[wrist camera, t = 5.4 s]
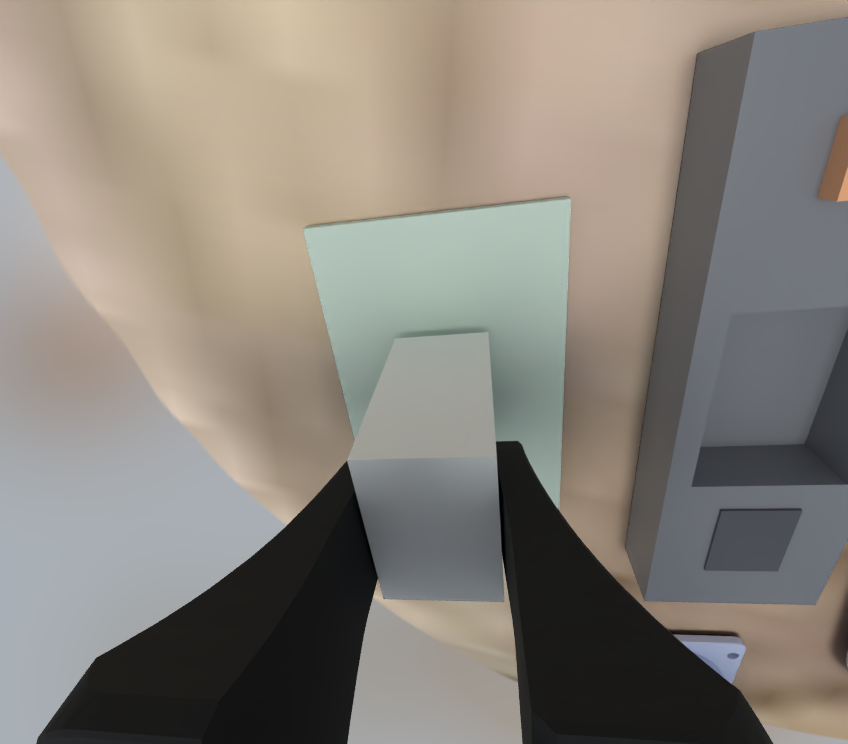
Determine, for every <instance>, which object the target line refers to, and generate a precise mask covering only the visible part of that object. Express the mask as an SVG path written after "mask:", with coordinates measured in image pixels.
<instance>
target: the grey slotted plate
mask: <svg viewBox="0 0 848 744" xmlns="http://www.w3.org/2000/svg"><path fill="white" fill-rule="evenodd" d="M847 541H848V17H845V18H838V19H832V20H826V21H820V22H813V23H807V24H801V25H794V26H788V27H782V28H776V29H769V30H763V31H757V32H753V33H750V34H748V35H745V36H742V37H740V38H737V39H734V40H732V41H729V42H726V43H724V44H721V45H718V46H716V47H713V48H710V49H708V50H705V51H702V52H700V53H698V54H697V61H696V68H695V75H694V82H693V88H692V95H691V102H690V109H689V116H688V123H687V129H686V136H685V143H684V150H683V157H682V164H681V170H680V177H679V184H678V191H677V198H676V204H675V211H674V218H673V225H672V232H671V239H670V245H669V252H668V259H667V266H666V273H665V280H664V286H663V293H662V300H661V307H660V314H659V320H658V327H657V334H656V341H655V348H654V355H653V361H652V368H651V375H650V382H649V389H648V396H647V402H646V409H645V416H644V423H643V430H642V436H641V443H640V450H639V457H638V464H637V471H636V477H635V484H634V491H633V498H632V505H631V512H630V518H629V525H628V532H627V539H626V546H625V549H626V552H627V554H628V557H629V560H630V563H631V565H632V568H633V571H634V574H635V576H636V579H637V582H638V584H639V587H640V590H641V593H642V595H643V598H644V601H663V602H707V603H752V604H796V605H816V603H817V601H818V599H819V597H820V595H821V593H822V591H823V589H824V587H825V585H826V583H827V581H828V579H829V577H830V575H831V573H832V571H833V569H834V567H835V565H836V563H837V561H838V559H839V557H840V555H841V553H842V551H843V549H844V547H845V545H846V543H847Z"/></svg>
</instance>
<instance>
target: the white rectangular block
mask: <svg viewBox="0 0 848 744" xmlns="http://www.w3.org/2000/svg"><path fill="white" fill-rule="evenodd" d="M347 462H348V466H349V469H350V473H351V477H352V481H353V485H354V488H355V492H356V496H357V500H358V504H359V507H360V511H361V515H362V519H363V523H364V526H365V530H366V534H367V538H368V542H369V545H370V549H371V553H372V557H373V560H374V564H375V568H376V572H377V576H378V579H379V583H380V587H381V591H382V595H383V598H384V599H403V600H445V601H487V602H504V585H503V566H502V547H501V528H500V509H499V490H498V471H497V453H496V438H495V423H494V408H493V393H492V379H491V364H490V349H489V334H488V332H481V333H467V334H453V335H438V336H424V337H410V338H395V340H394V343H393V346H392V348H391V351H390V353H389V356H388V358H387V361H386V363H385V366H384V368H383V371H382V373H381V376H380V378H379V381H378V383H377V386H376V388H375V391H374V393H373V396H372V398H371V401H370V404H369V406H368V409H367V411H366V414H365V416H364V419H363V421H362V424H361V426H360V429H359V431H358V434H357V436H356V439H355V441H354V444H353V446H352V449H351V451H350V454H349V456H348V459H347Z"/></svg>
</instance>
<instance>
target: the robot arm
mask: <svg viewBox="0 0 848 744" xmlns="http://www.w3.org/2000/svg"><path fill="white" fill-rule="evenodd" d="M496 453H497V471H498V490H499V509H500V528H501V547H502V556H503V563H504V569H505V575H506V581H507V588H508V594H509V600H510V607H511V613H512V619H513V627H514V636H515V646H516V660H517V673H518V687H519V700H520V714H521V726H522V727H521V728H522V740H523V741H522V742H523V744H773V742H772V741H771V739H770V737H769V736H768V734H767V732H766V731H765V729H764V728H763V726H762V724H761V723H760V721H759V719H758V718H757V716H756V715H755V713H754V711H753V710H752V708H751V707H750V705H749V704H748V702H747V701H746V699H745V698H744V696H743V695H742V693H741V692H740V690H739V689H737V688H736V687H735V686H734V685H732V683H733V680H734V678H735V676H736V673H737V671H738V668H739V666H740V663H741V661H742V658H743V656H744V653H745V651H746V646H745V644H744V642H743V641H742V639H740V638H738V637H734V636H706V635H676V634H672V633H671V632H669V631H668V630H667V629H666V628H665V627H664V626H663V625H662V624H661V623H659V622H658V621H657V620H656V619H655V618H654V617H653V616H652V615H651V614H650V613H649V612H648V611H647V610H646V609H645V608H644V607H643V606H642V605H641V604H640V603H639V602H638V601H637V600H636V599H635V598H634V597H633V596H632V595H631V594H630V593H629V592H627V591H626V590H625V589H624V588H623V587H622V586H621V585H620V584H619V583H618V582H617V581H616V579H615V578H614V577H613V576H612V575H611V574H610V573H609V572H608V571H607V570H606V569H605V567H604V566H603V565H602V564H601V563H600V562H599V561H598V560H597V559H596V557H595V556H594V555H593V554H592V553H591V552H590V550H589V549H588V548H587V547H586V546H585V544H584V543H583V542H582V541H581V539H580V538H579V537H578V536H577V534H576V533H575V532H574V531H573V529H572V528H571V527H570V525H569V524H568V523H567V521H566V520H565V518H564V517H563V516H562V514H561V513H560V512H559V510H558V509H557V507H556V506H555V504H554V503H553V501H552V500H551V498H550V497H549V495H548V493H547V492H546V490H545V489H544V487H543V486H542V484H541V482H540V481H539V479H538V477H537V475H536V474H535V472H534V470H533V468H532V466H531V464H530V462H529V460H528V458H527V456H526V454H525V451H524V449H523V446H522V444H521V443H520V442H519V441H496ZM377 579H378V576H377V572H376V568H375V564H374V560H373V557H372V553H371V549H370V545H369V542H368V538H367V534H366V530H365V526H364V523H363V519H362V515H361V511H360V507H359V504H358V500H357V496H356V492H355V488H354V485H353V481H352V477H351V473H350V469H349V466H348V462H347V461H346V462H345V464H344V465H343V466H342V467H341V468H340V469H339V471H338V472H337V473H336V474H335V475H334V476H333V477H332V479H331V480H330V481H329V482H328V483H327V484H326V485H325V486H324V488H323V489H322V490H321V491H320V492H319V493H318V494H317V495H316V496H315V497H314V499H313V500H312V501H311V502H310V503H309V504H308V505H307V506H306V507H305V508H304V509H303V510H302V511H301V512H300V513H299V514H298V515H297V516H296V517H295V518H294V519H293V520H292V521H291V522H290V523H289V524H288V525H287V526H286V527H285V528H284V529H283V530H282V531H281V532H280V533H278V534H277V535H276V536H275V537H274V538H273V539H272V540H271V541H270V542H268V543H267V544H266V545H265V546H264V547H263V548H261V549H260V550H259V551H258V552H257V553H255V555H253V556H252V557H251V558H249V559H248V560H247V561H245V562H244V563H243V564H241V565H240V566H239V567H238V568H236V569H235V570H234V571H233V572H231V573H230V574H228V575H227V576H226V577H224V578H223V579H222V580H220V581H219V582H218V583H216V584H215V585H214V586H212V587H211V588H210V589H208V590H207V591H205V592H204V593H202V594H201V595H199V596H198V597H196V598H195V599H193V600H192V601H191V602H189V603H188V604H186V605H185V606H183V607H181V608H180V609H178V610H177V611H175V612H174V613H172V614H170V615H169V616H168V617H166V618H164V619H163V620H161V621H159V622H158V623H156V624H155V625H153V626H151V627H149V628H148V629H146V630H144V631H143V632H141V633H139V634H137V635H136V636H134V637H132V638H130V639H129V640H127V641H125V642H123V643H122V644H120V645H118V646H117V647H115V648H113V649H111V650H110V651H108V652H106V653H104V654H102V655H101V656H99V657H97V658H96V659H95V661H94V662H93V663H92V664H91V666H90V667H89V668H88V670H87V671H86V672H85V674H84V675H83V677H82V678H81V679H80V681H79V682H78V683H77V685H76V686H75V688H74V689H73V690H72V692H71V693H70V694H69V696H68V697H67V698H66V700H65V702H64V703H63V704H62V705H61V707H60V708H59V709H58V711H57V712H56V714H55V715H54V716H53V718H52V719H51V720H50V722H49V723H48V725H47V726H46V727H45V729H44V730H43V732H42V733H41V734H40V736H39V737H38V740H37V743H36V744H347V741H348V734H349V726H350V719H351V712H352V706H353V699H354V692H355V685H356V679H357V672H358V666H359V660H360V654H361V648H362V641H363V636H364V631H365V627H366V622H367V618H368V613H369V610H370V606H371V602H372V598H373V594H374V591H375V587H376V583H377Z"/></svg>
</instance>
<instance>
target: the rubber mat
mask: <svg viewBox="0 0 848 744" xmlns="http://www.w3.org/2000/svg"><path fill="white" fill-rule="evenodd" d="M570 216H571V198H569V197H560V198H551V199H542V200H533V201H524V202H516V203H507V204H498V205H489V206H480V207H472V208H463V209H454V210H445V211H436V212H428V213H419V214H410V215H401V216H392V217H383V218H375V219H366V220H357V221H348V222H339V223H331V224H322V225H313V226H307V227H305V228H304V229H303V232H304V236H305V241H306V245H307V249H308V253H309V257H310V261H311V265H312V269H313V273H314V277H315V281H316V285H317V289H318V293H319V297H320V302H321V306H322V310H323V314H324V318H325V322H326V326H327V330H328V334H329V338H330V342H331V346H332V350H333V354H334V358H335V362H336V367H337V371H338V375H339V379H340V383H341V387H342V391H343V395H344V399H345V403H346V407H347V411H348V415H349V419H350V423H351V427H352V432H353V436H354V440H355V439H356V436H357V434H358V431H359V429H360V426H361V424H362V421H363V419H364V416H365V414H366V411H367V409H368V406H369V404H370V401H371V398H372V396H373V393H374V391H375V388H376V386H377V383H378V381H379V378H380V376H381V373H382V371H383V368H384V366H385V363H386V361H387V358H388V356H389V353H390V351H391V348H392V346H393V343H394V340H395V338H410V337H424V336H438V335H453V334H467V333H481V332H488V334H489V349H490V364H491V379H492V393H493V408H494V423H495V438H496V441H519V442H520V443H521V444H522V446H523V449H524V451H525V454H526V456H527V458H528V460H529V462H530V464H531V466H532V468H533V470H534V472H535V474H536V475H537V477H538V479H539V481H540V482H541V484H542V486H543V487H544V489H545V490H546V492H547V493H548V495H549V497H550V498H551V500H552V501H553V503H554V504H555V506H556V507H557V508H559V504H560V478H561V452H562V425H563V399H564V373H565V347H566V321H567V294H568V268H569V242H570Z"/></svg>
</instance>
